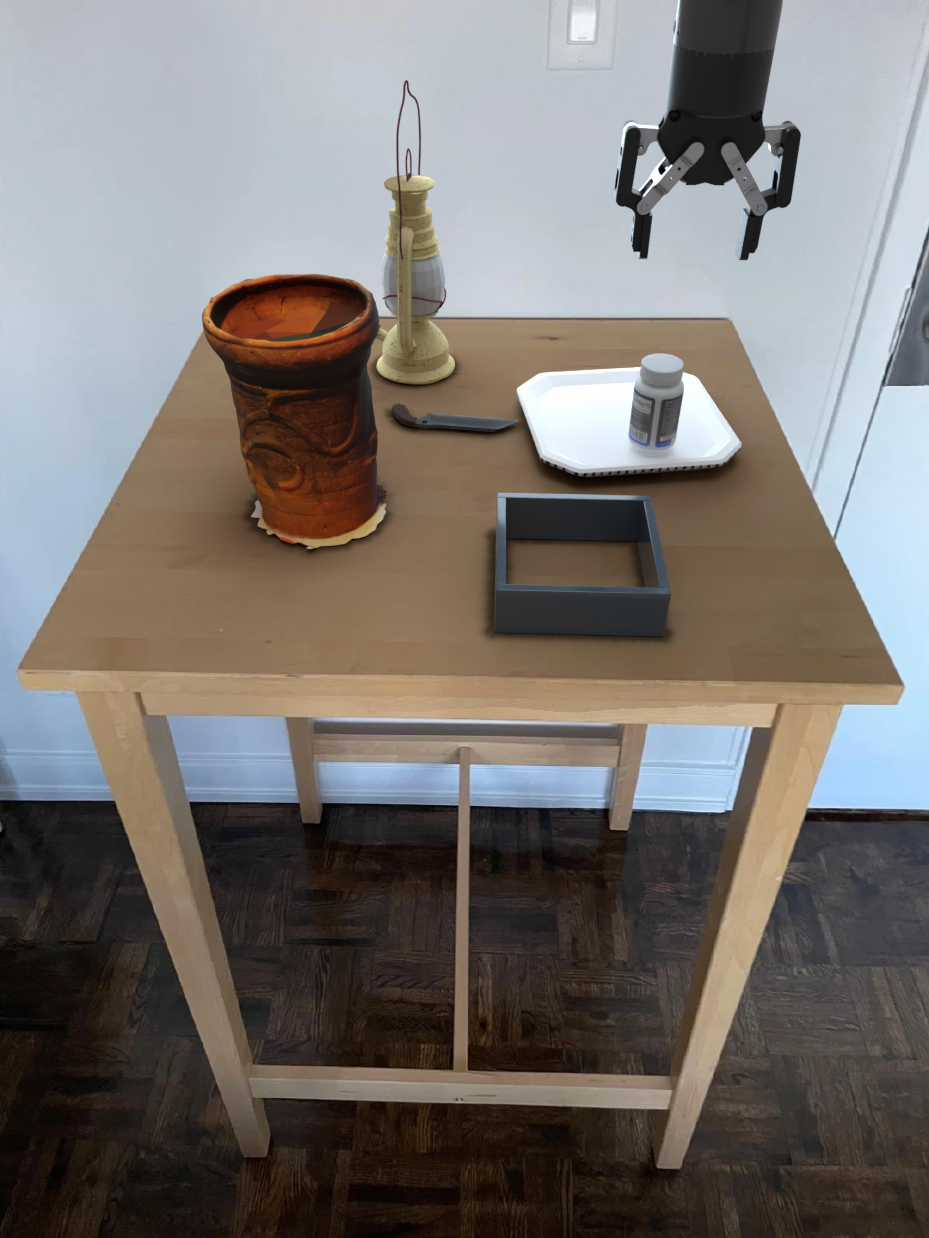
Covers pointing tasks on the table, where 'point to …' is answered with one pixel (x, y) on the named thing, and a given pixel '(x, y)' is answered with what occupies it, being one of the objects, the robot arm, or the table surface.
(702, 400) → the plate
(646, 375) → the pill bottle
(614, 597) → the square frame
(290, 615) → the table surface
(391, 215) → the lantern
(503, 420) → the knife
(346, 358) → the vessel
